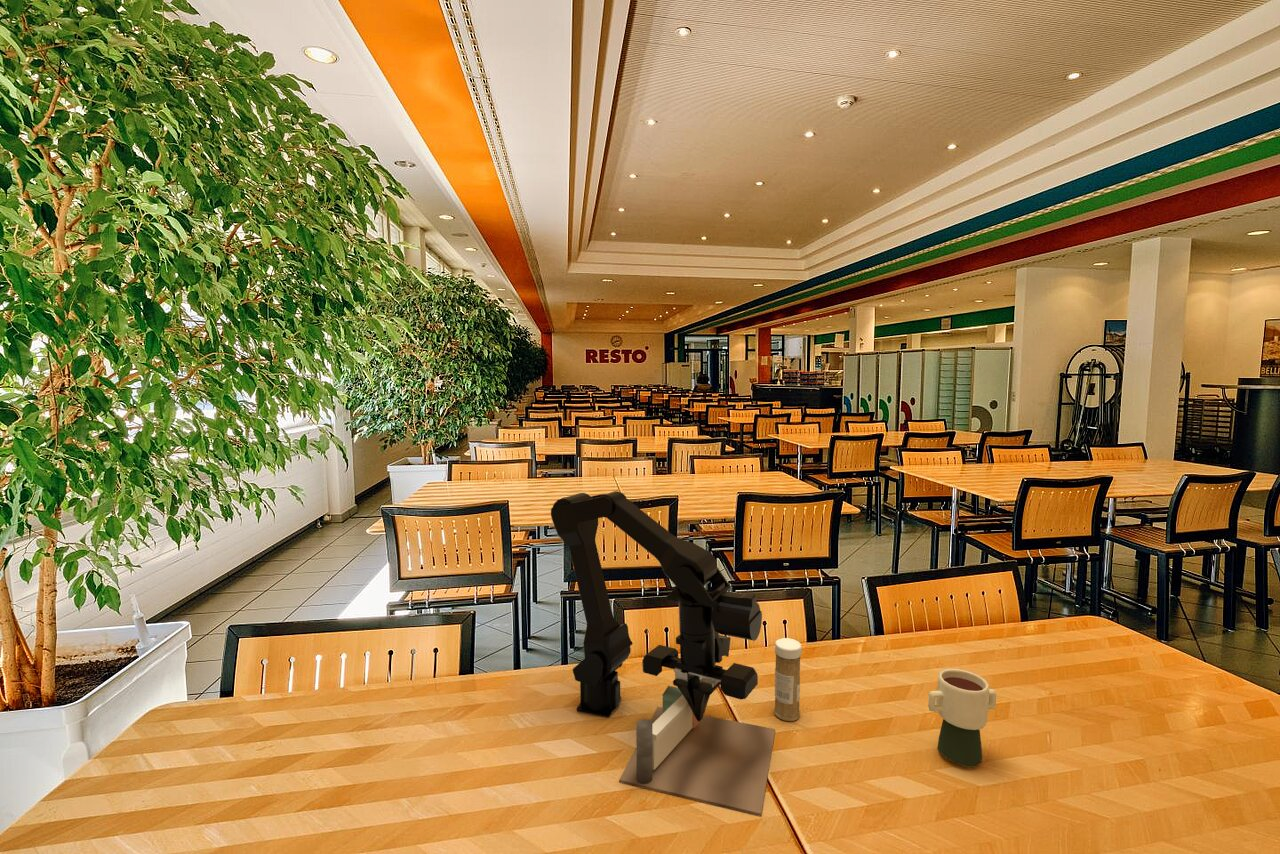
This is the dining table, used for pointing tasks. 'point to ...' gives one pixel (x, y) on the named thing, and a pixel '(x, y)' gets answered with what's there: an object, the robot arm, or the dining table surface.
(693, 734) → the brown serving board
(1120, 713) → the dining table surface
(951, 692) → the character mug
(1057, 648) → the dining table surface
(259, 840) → the dining table surface
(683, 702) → the orange and cream block
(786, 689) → the sprinkles bottle
